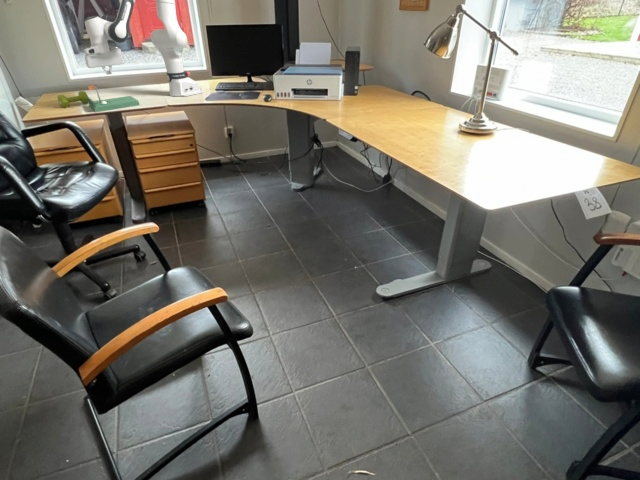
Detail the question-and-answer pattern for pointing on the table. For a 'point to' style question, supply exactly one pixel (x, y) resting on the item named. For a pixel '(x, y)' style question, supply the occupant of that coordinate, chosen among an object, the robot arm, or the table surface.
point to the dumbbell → (72, 99)
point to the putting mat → (111, 102)
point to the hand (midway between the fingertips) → (109, 74)
